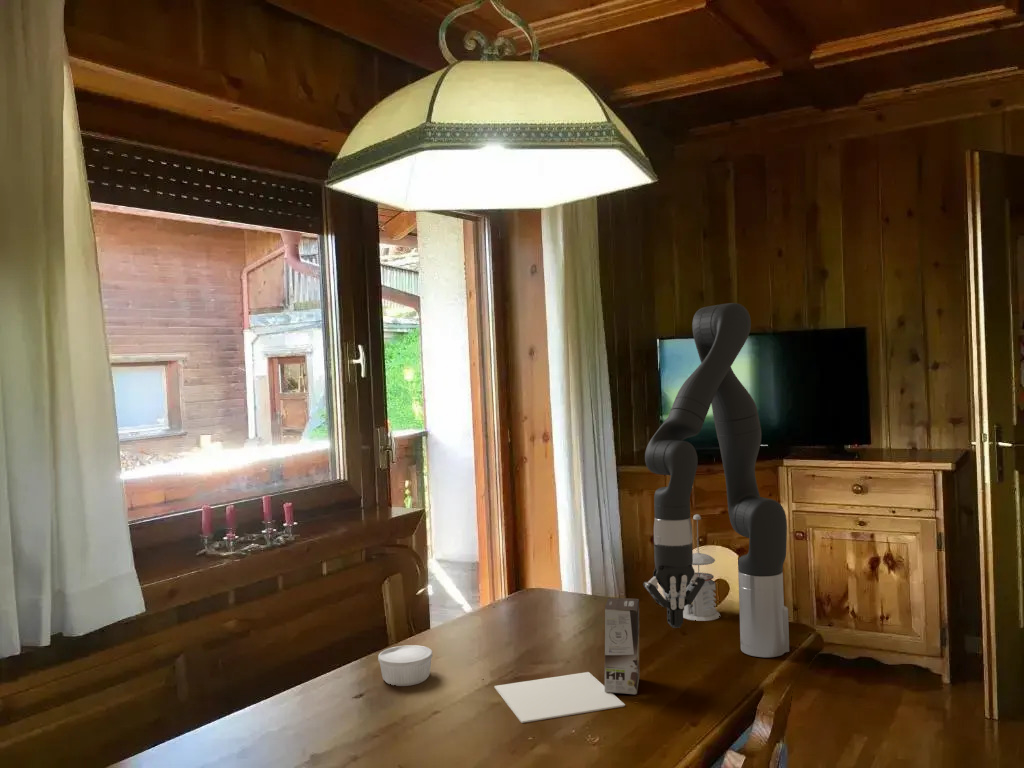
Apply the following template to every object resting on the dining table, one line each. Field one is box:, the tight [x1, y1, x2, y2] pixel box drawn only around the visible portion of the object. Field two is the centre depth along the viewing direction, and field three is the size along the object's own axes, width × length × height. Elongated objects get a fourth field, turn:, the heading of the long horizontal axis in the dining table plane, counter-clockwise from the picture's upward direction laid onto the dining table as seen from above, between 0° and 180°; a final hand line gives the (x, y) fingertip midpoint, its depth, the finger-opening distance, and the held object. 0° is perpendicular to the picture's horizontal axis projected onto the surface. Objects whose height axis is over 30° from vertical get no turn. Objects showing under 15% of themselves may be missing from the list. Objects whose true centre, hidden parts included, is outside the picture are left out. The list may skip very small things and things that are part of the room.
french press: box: [683, 513, 721, 622], centre depth 211 cm, size 10×12×25 cm
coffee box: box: [604, 597, 640, 695], centre depth 167 cm, size 9×6×16 cm
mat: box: [493, 671, 626, 724], centre depth 164 cm, size 20×18×1 cm
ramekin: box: [377, 644, 433, 687], centre depth 176 cm, size 11×11×5 cm
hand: (675, 626), depth 171 cm, fingers closed
